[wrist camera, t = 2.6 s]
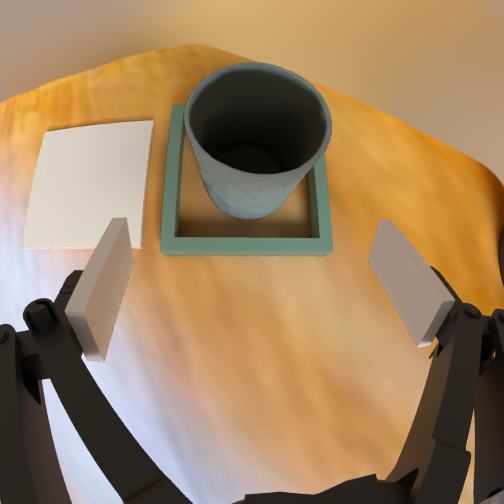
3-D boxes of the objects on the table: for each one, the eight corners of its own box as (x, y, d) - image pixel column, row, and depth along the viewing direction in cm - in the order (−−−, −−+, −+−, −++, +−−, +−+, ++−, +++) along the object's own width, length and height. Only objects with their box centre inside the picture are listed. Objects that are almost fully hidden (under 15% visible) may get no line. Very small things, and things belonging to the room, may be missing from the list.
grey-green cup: (310, 210, 32) (356, 155, 20) (214, 243, 30) (212, 199, 18) (271, 128, 33) (294, 52, 21) (182, 154, 32) (168, 79, 20)
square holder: (312, 122, 34) (318, 110, 31) (324, 256, 31) (333, 251, 28) (175, 118, 32) (172, 105, 30) (165, 255, 29) (160, 250, 27)
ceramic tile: (154, 124, 32) (153, 120, 31) (142, 248, 29) (140, 246, 29) (47, 135, 30) (45, 132, 30) (26, 248, 28) (22, 247, 27)
